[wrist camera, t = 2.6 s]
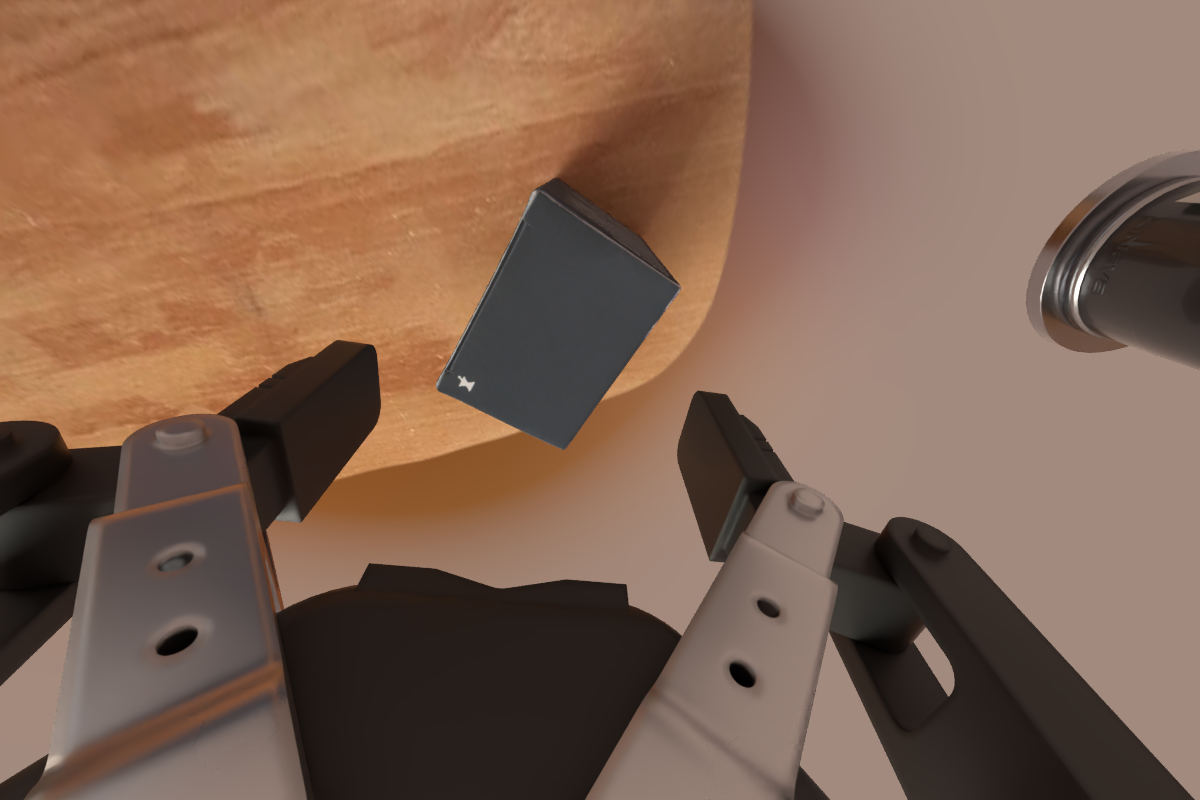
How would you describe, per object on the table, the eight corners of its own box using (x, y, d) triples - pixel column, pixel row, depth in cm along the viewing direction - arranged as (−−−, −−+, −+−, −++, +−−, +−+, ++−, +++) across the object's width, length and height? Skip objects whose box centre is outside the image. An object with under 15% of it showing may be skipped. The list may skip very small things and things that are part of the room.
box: (570, 352, 26) (563, 456, 17) (485, 303, 25) (427, 389, 15) (646, 237, 23) (687, 288, 14) (554, 172, 22) (533, 182, 12)
